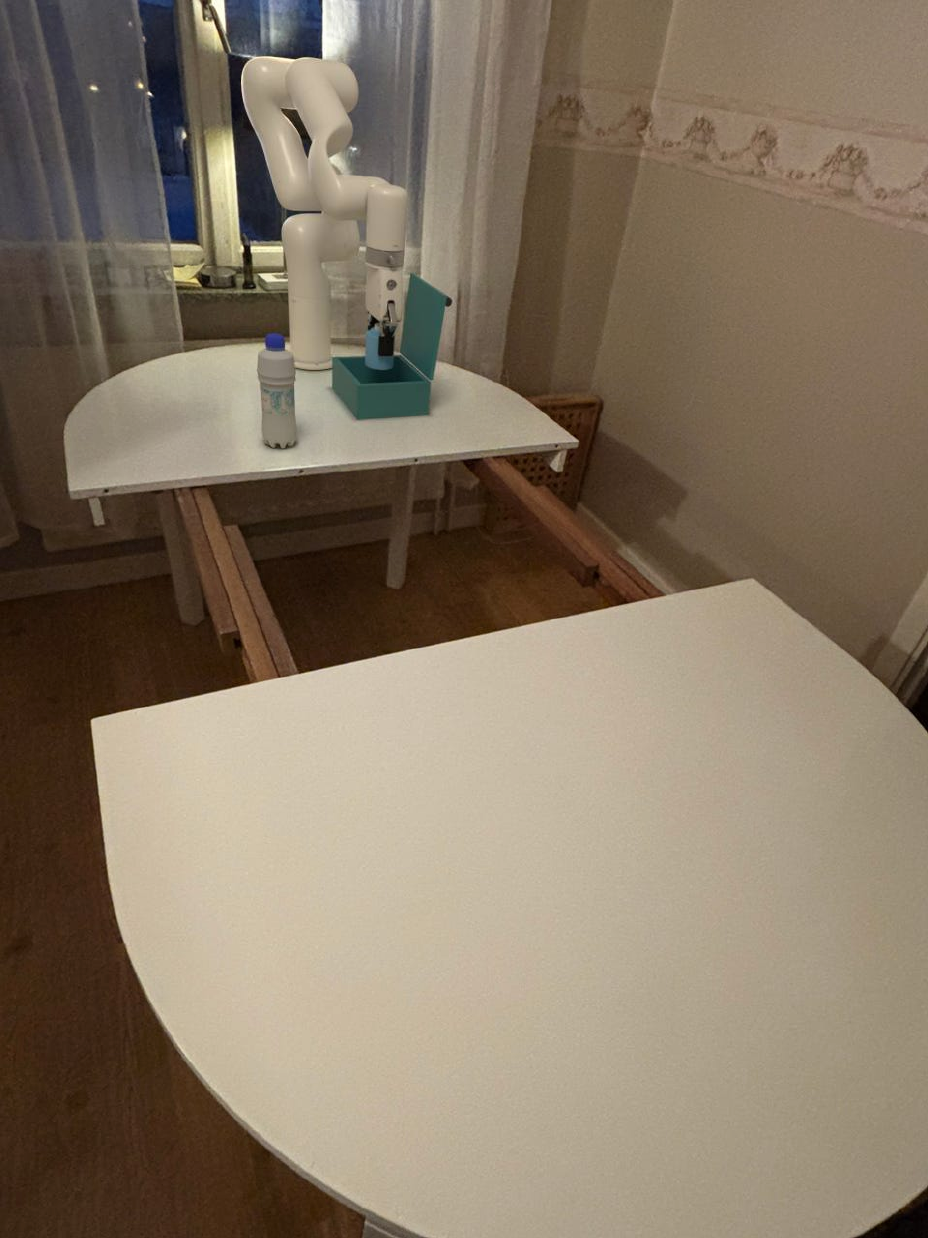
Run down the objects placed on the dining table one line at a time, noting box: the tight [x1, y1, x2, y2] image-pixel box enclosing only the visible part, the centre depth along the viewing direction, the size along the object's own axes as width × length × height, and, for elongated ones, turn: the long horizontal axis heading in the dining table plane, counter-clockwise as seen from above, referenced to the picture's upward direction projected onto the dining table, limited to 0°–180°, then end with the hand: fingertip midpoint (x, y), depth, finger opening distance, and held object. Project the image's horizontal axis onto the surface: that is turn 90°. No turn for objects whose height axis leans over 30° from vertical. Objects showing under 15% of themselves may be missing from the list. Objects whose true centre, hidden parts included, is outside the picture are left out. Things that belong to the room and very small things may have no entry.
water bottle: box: [364, 323, 396, 370], centre depth 155 cm, size 6×6×8 cm
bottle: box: [256, 332, 297, 449], centre depth 133 cm, size 7×7×20 cm
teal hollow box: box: [331, 354, 432, 420], centre depth 159 cm, size 16×18×7 cm
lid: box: [399, 272, 453, 381], centre depth 156 cm, size 17×18×5 cm
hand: (379, 349), depth 155 cm, fingers closed on water bottle, 6 cm apart
